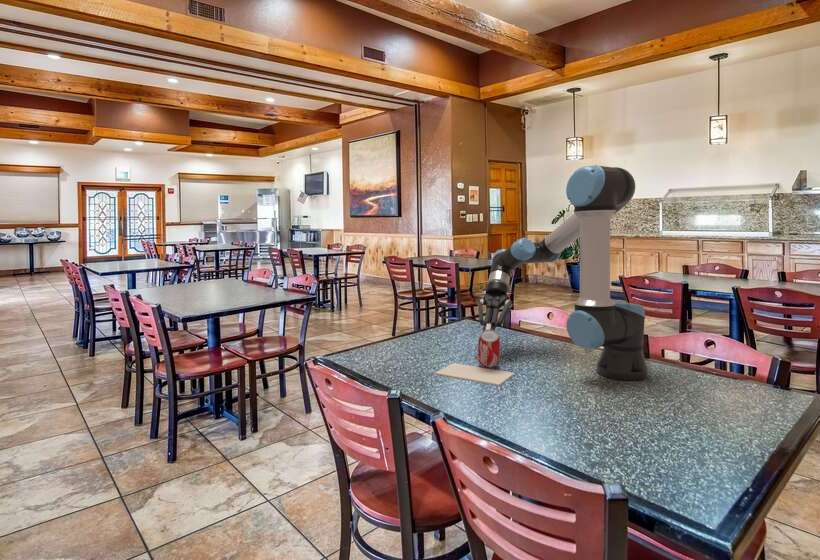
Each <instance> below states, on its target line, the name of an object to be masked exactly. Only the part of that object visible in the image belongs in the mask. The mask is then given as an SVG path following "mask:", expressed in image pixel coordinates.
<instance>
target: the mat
mask: <svg viewBox="0 0 820 560" xmlns="http://www.w3.org/2000/svg"><path fill="white" fill-rule="evenodd" d="M435 374H436V376H441V375H442V377H448V378H452V379H459V380H463V381H464V380H465V381H471V382H474V383H481V384H486V385H492V386H498V387H500V386H501V385H503V384H504V383H505V382H507V381H508V380H510V379H511V378H512V377H513V376H515V372H512V371H511V372H510V371H504V370H498V369H491V368H488V367H481V366H480V367H479V366H473V365H467V364H462V363H455V362H453V363H451V364H449V365H447V366H445V367H443V368H441V369H439V370H437V371H435V372H434V375H435Z"/></svg>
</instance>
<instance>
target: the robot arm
mask: <svg viewBox="0 0 820 560" xmlns="http://www.w3.org/2000/svg"><path fill="white" fill-rule="evenodd" d="M565 193H566V198H567V199H568V200H569V202H570V204H572V205H573V206H574V213H573V214H571V215H570V216H569V217H568V218H567V219H565V220H564V221H563V222H562V223H561V224H560V225H559V226H558V227H557V228H555V229H554V230H553V231H552V232H550V233H549V234H548V235H547V236H546V237H545V238H543V239H542V240H540V241H537V242H536V241H535V242H533V241H532V240H531V239H528V238H527V237H521V238H519V239H517V240H516V241H514V242H513V243H512V244H511V245H510V246H509V247H508V248H501V249H497V250H496V251H495V252H494V255H493V257H492V260H491V267H490V271H489V277H488V281H487V286H486V290H485V294H484V296H482V298H481V299H480V298H477V299H476V300H475V301H476V305H477V307H478V322H479V325H480V326H483V327H482V332H483V331H484V330H494V331H496V328H497V327H499V328H500V327H502V326H503V323H504V321H505V319H506V317H507V315H508V314H509V311H510V310H511V309H512V308H513V302H512V300H508V298H507V295H508V290H509V286H510V280H511V277H512V272H513V271H514V270H516V269H517V268H519V266H521V265H524V264H536V263H537V264H538V263H552V262H555V261H556V262H557V261H558V260H559V259H560V257H561V255H562V252H563V251H564V250H565V249H566V248H568V247H570V245H572V244H573V243H574V242H575V241H577V240H578V239H579V297H578V299H577V300H576V301H575V302H574V310H573V312H571V313H570V314H569V316H568V317H567V319H566V331H567V334H568V336H569V338H570V339H571V340H572V342H573V344H575V345H576V346H577V347H579V348H580V349H581V348H582V349H586V350H587V349H590V350H591V349H600V348H601V347H603V348H602V350H601V352H600V356H599V358H598V361H597V363H596V372H597V373H598V374H599V375H600V376H603V377H605V378H610V379H613V380H621V381H641V380H645V379H648V376H649V368H648V365H647V361H646V358H645V355H644V338H645V337H644V334H645V321H646V320H645V319H646V316H645V315H646V312H645V307H644V306H643V305H642V304H637V303H631V302H626V301H625V302H624V301H616V300H613V299H612V298H611V218H612V216H614V215H615V214H617V213H618V212H619V211H621V210H622V209H623V208H625V206H627V205H628V204H629V202H630V201H631V200H632V199H633V197H634V195H635V193H636V181H635V178H634V176H633V174H632V173H630V172H629V171H628V170H627V169H624V168H622V167H617V166H612V167H611V166H605V165H597V164H596V165H595V164H594V165H585V166H581V167H579V168H577V169H576V170H574V172H573V173H572V175H570V177H569V179H568V181H567V183H566V189H565ZM484 304H485V306H486V311H485V315H484V308H483V307H484V306H483V305H484ZM502 307H503V309H502V310H501V308H502ZM500 310H501V311H500ZM492 312H493V313H492ZM499 313H500V315H499ZM491 315H492V317H491ZM491 318H492V319H491ZM490 320H491V322H490Z"/></svg>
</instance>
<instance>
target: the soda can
mask: <svg viewBox="0 0 820 560" xmlns="http://www.w3.org/2000/svg"><path fill="white" fill-rule="evenodd" d="M477 348H478V349H477V358H478V362H479V364H480V365H481V366H483V367H484V368H493V367H495V366H497V364H499V362H500V361H499V360H500V352H501V351H500V350H501V338H500V336H499V333H498V332H497V331H496V330H495V331H494V330H484V331H482V332H481V333H480V335H479V337H478V346H477Z"/></svg>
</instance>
